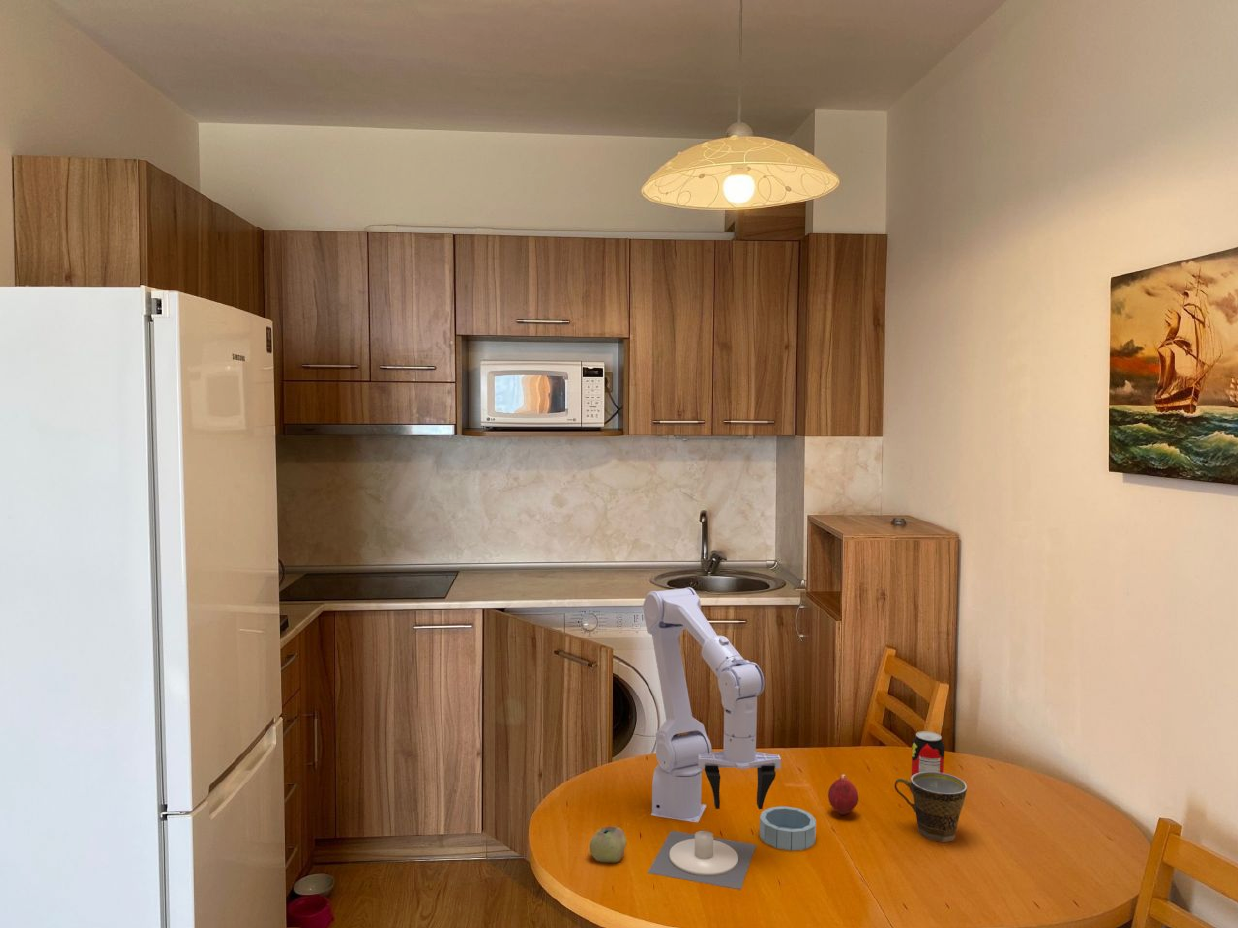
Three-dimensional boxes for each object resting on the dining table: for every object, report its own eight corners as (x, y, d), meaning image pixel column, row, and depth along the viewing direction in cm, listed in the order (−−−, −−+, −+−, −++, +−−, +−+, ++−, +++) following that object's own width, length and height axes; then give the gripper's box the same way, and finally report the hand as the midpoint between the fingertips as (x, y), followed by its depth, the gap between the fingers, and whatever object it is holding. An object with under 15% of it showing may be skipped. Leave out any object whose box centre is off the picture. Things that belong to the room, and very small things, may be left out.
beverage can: (945, 789, 189) (947, 734, 188) (938, 800, 184) (940, 743, 183) (915, 782, 193) (917, 727, 192) (907, 793, 187) (909, 736, 186)
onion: (858, 822, 174) (859, 782, 173) (828, 819, 175) (829, 779, 174) (856, 809, 179) (858, 770, 179) (827, 806, 180) (828, 767, 180)
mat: (647, 875, 153) (647, 872, 153) (671, 833, 168) (671, 830, 168) (740, 892, 148) (740, 889, 148) (756, 847, 163) (756, 844, 163)
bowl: (756, 847, 163) (756, 826, 163) (764, 823, 173) (765, 803, 172) (812, 856, 160) (812, 834, 160) (817, 831, 170) (818, 811, 169)
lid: (661, 868, 154) (662, 844, 154) (678, 837, 166) (679, 815, 165) (730, 880, 151) (731, 856, 150) (743, 847, 162) (743, 825, 162)
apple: (638, 866, 156) (638, 833, 156) (593, 871, 154) (593, 838, 154) (629, 849, 162) (629, 817, 162) (586, 854, 160) (586, 822, 160)
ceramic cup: (966, 827, 172) (968, 777, 171) (963, 851, 163) (965, 797, 162) (896, 814, 177) (898, 764, 177) (889, 835, 168) (891, 784, 168)
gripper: (701, 740, 155) (700, 816, 156) (785, 740, 155) (783, 816, 156) (697, 725, 162) (696, 798, 163) (777, 726, 162) (775, 799, 163)
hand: (738, 806), depth 160 cm, fingers open, 7 cm apart
